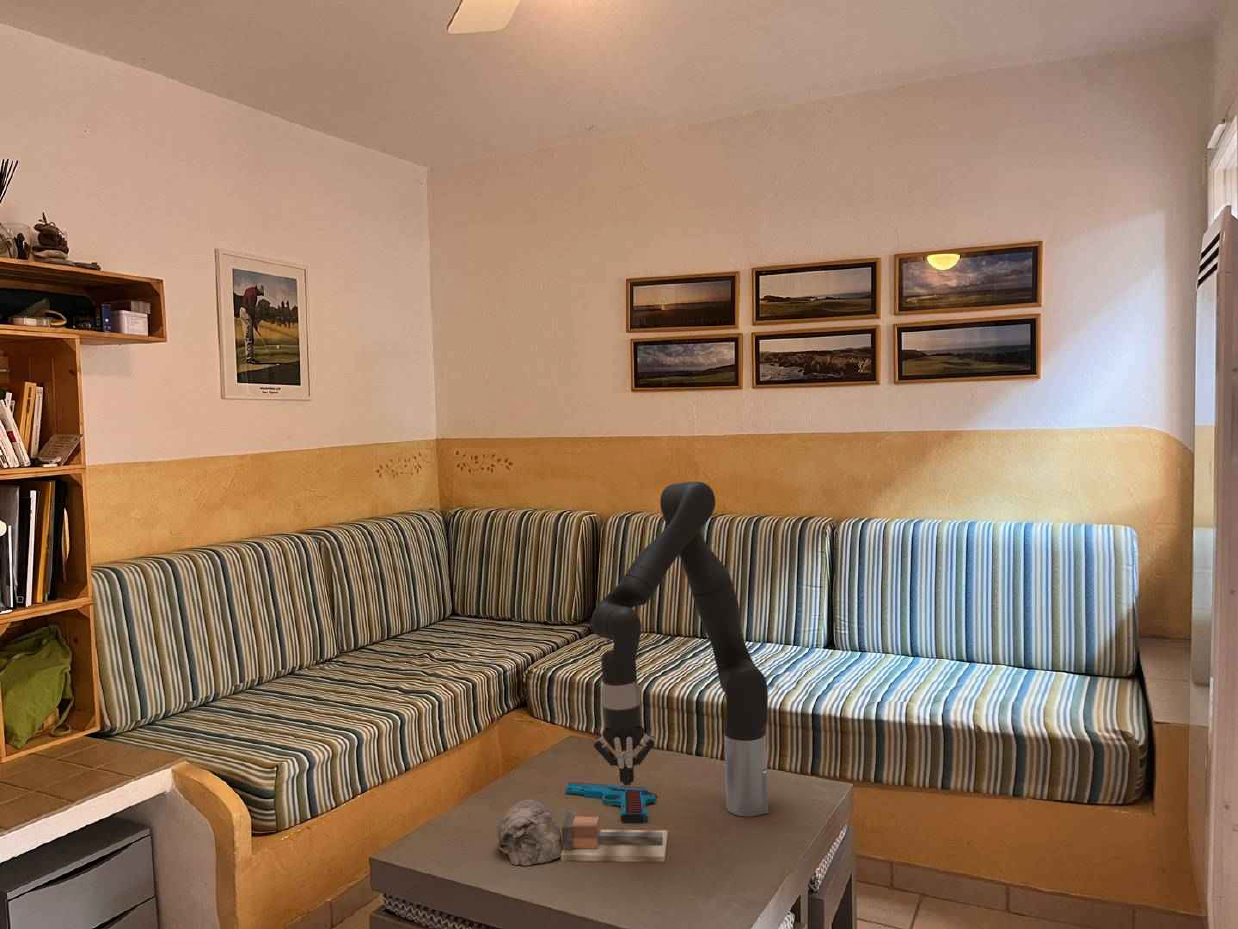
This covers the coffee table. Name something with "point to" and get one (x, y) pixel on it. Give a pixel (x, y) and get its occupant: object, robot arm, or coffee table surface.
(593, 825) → the slider block
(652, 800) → the handgun
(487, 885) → the coffee table surface
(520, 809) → the rock
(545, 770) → the coffee table surface
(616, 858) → the rail board
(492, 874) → the coffee table surface
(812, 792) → the coffee table surface
